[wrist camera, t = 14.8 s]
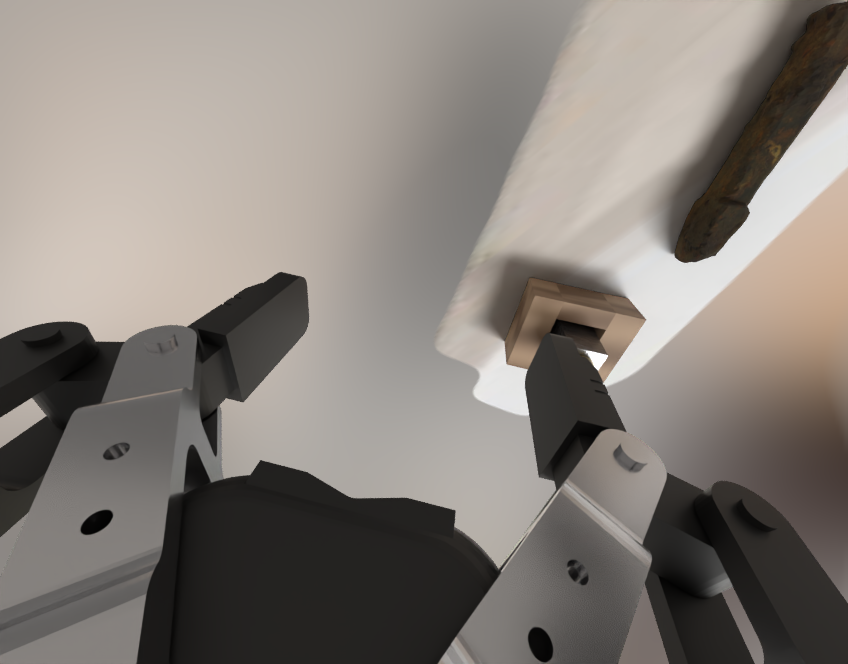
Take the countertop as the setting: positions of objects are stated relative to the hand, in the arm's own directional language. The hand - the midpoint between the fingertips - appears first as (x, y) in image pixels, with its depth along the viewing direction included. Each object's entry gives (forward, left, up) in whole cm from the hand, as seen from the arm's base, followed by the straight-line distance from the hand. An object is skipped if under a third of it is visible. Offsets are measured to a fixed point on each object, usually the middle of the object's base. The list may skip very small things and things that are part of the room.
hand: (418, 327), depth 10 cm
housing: (+13, +16, -28) cm, 35 cm away
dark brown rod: (-7, +24, -29) cm, 38 cm away
